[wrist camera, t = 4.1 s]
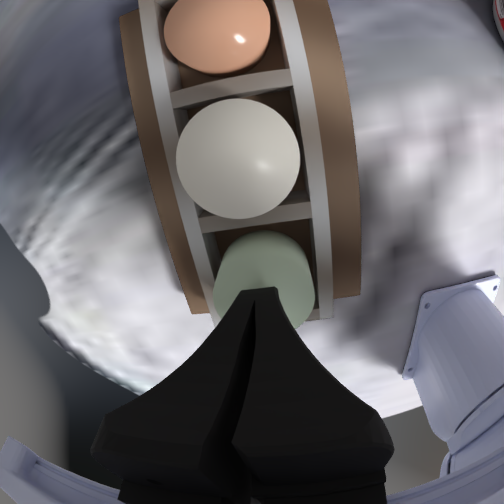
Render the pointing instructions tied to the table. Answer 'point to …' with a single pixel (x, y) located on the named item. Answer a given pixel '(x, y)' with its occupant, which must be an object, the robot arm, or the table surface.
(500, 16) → the soda can
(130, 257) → the table surface
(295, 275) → the button sage
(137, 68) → the button board
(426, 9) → the table surface
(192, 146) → the button ivory
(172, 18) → the button terracotta
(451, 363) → the robot arm
